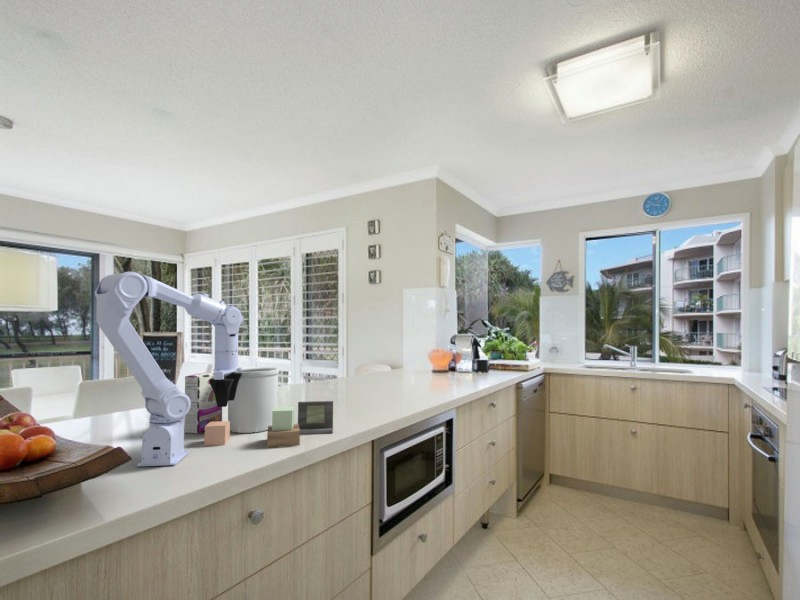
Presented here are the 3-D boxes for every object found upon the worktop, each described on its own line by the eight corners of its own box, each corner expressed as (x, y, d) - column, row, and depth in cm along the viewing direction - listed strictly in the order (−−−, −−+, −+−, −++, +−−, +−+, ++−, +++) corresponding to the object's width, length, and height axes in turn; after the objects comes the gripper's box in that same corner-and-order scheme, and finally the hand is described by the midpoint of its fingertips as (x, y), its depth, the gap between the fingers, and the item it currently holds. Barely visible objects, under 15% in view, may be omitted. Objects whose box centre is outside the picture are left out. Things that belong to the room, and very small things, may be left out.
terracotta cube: (224, 445, 107) (225, 425, 107) (204, 446, 106) (204, 426, 106) (229, 439, 111) (230, 421, 112) (209, 440, 111) (210, 421, 111)
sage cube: (291, 430, 107) (292, 410, 108) (272, 430, 107) (272, 411, 107) (293, 425, 112) (294, 406, 113) (274, 426, 112) (275, 407, 112)
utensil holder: (217, 427, 124) (219, 368, 125) (263, 419, 135) (265, 365, 136) (238, 437, 114) (240, 373, 115) (287, 427, 124) (288, 369, 125)
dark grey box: (332, 433, 118) (333, 403, 119) (296, 434, 117) (297, 404, 117) (332, 428, 124) (333, 399, 124) (298, 429, 122) (299, 400, 123)
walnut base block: (299, 446, 106) (299, 430, 107) (267, 449, 104) (267, 433, 104) (298, 438, 114) (298, 423, 114) (267, 440, 112) (268, 425, 112)
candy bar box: (208, 424, 128) (209, 370, 129) (222, 425, 127) (224, 371, 128) (182, 433, 117) (184, 375, 118) (197, 434, 116) (199, 375, 117)
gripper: (235, 353, 102) (235, 408, 101) (248, 348, 116) (248, 397, 116) (205, 354, 101) (205, 410, 100) (221, 349, 115) (221, 398, 115)
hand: (226, 403), depth 108 cm, fingers open, 7 cm apart
